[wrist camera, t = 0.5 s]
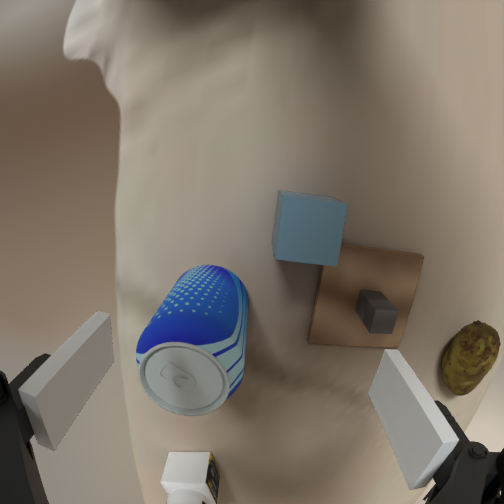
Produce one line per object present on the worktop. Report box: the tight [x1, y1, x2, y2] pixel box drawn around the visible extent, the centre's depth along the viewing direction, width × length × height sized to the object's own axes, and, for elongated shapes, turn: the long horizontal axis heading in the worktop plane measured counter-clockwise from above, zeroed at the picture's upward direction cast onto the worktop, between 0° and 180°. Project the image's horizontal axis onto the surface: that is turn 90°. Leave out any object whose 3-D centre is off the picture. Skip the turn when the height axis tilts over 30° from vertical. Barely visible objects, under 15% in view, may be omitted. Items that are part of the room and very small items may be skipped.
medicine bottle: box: [161, 451, 220, 504], centre depth 38 cm, size 7×7×12 cm
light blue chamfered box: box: [272, 190, 348, 266], centre depth 31 cm, size 6×6×7 cm
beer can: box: [136, 265, 249, 416], centre depth 29 cm, size 8×8×16 cm
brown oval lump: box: [442, 320, 500, 395], centre depth 34 cm, size 8×13×8 cm, turn 175°
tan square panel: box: [307, 244, 424, 347], centre depth 33 cm, size 12×12×6 cm
